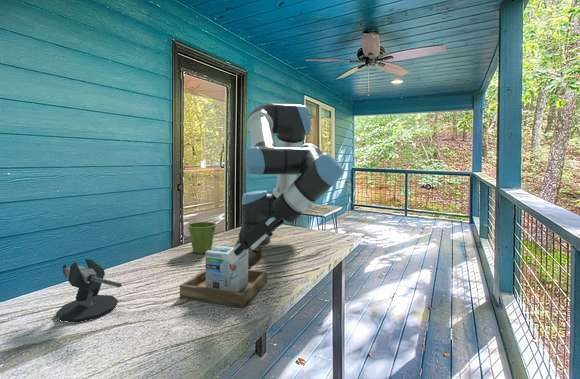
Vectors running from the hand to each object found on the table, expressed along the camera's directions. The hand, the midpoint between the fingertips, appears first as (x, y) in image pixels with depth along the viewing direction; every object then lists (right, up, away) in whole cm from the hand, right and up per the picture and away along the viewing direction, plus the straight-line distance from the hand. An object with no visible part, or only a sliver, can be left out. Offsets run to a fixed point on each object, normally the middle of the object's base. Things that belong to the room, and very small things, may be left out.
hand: (240, 252), depth 83 cm
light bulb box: (-4, -11, +3) cm, 12 cm away
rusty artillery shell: (-1, -10, +25) cm, 27 cm away
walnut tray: (-5, -11, +3) cm, 13 cm away
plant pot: (-22, -8, +39) cm, 46 cm away
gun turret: (-33, -12, -11) cm, 37 cm away
